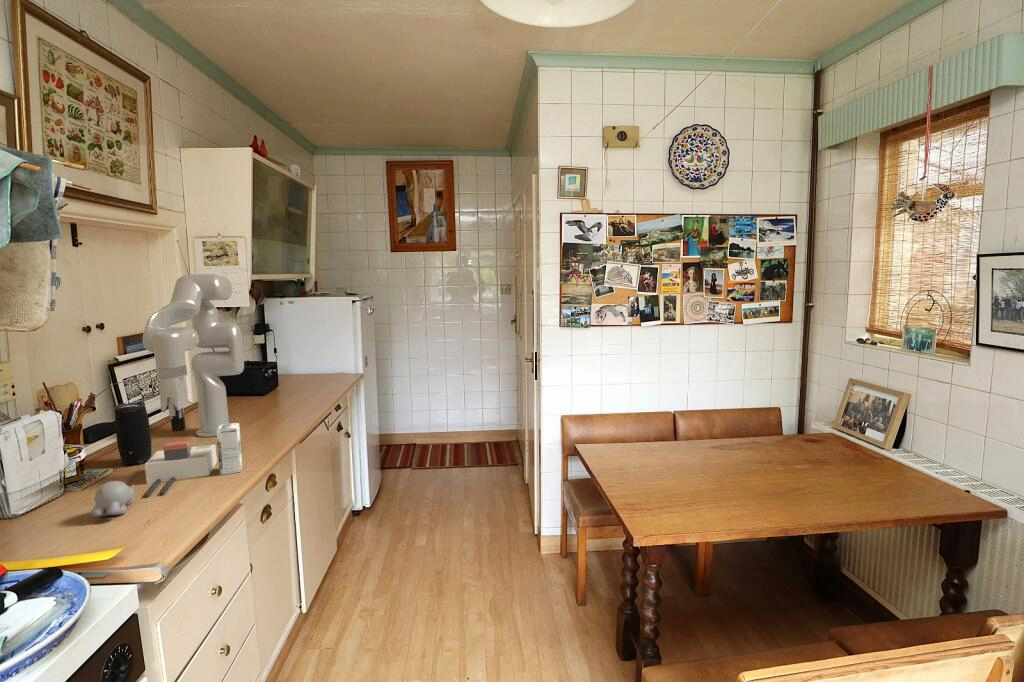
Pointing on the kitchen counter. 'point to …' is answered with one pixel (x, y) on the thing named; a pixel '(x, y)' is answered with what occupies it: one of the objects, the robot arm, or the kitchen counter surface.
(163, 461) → the block
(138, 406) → the portable speaker
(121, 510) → the toy rhinoceros
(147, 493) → the dressed cords
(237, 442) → the syrup box
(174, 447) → the handle
